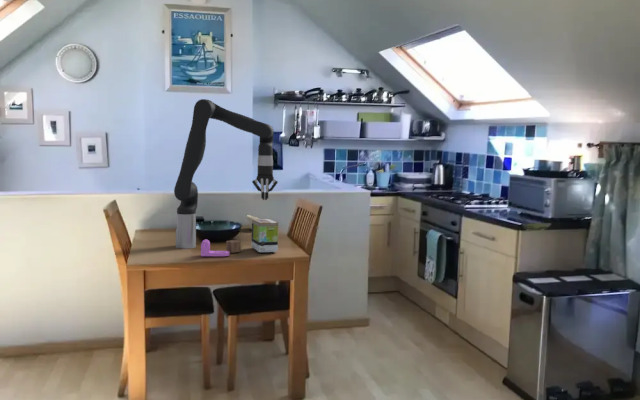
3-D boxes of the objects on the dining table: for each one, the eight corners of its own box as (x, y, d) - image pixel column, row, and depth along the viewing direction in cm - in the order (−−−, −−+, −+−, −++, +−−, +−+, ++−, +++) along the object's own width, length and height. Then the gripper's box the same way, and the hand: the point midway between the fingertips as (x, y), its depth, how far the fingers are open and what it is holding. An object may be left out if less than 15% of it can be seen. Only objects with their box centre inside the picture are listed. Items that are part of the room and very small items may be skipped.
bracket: (200, 256, 251) (200, 241, 251) (201, 253, 257) (201, 239, 256) (229, 256, 253) (229, 241, 252) (229, 253, 258) (229, 239, 258)
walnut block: (234, 250, 268) (226, 251, 264) (234, 240, 267) (226, 241, 264) (240, 251, 264) (231, 252, 261) (240, 241, 264) (232, 242, 260)
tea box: (278, 251, 265) (278, 222, 263) (258, 253, 261) (258, 222, 260) (269, 246, 279) (270, 218, 277) (250, 247, 275) (251, 218, 274)
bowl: (270, 233, 320) (270, 216, 319) (246, 233, 318) (246, 216, 317) (268, 229, 335) (269, 213, 334) (246, 229, 333) (246, 213, 332)
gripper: (250, 164, 262) (250, 200, 264) (277, 165, 262) (277, 200, 264) (253, 164, 270) (252, 198, 272) (279, 164, 269) (279, 199, 271)
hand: (264, 199), depth 268 cm, fingers closed
